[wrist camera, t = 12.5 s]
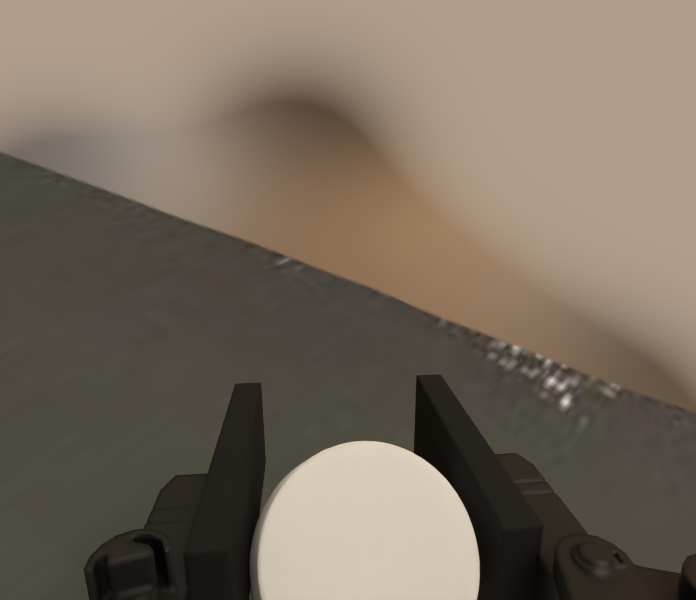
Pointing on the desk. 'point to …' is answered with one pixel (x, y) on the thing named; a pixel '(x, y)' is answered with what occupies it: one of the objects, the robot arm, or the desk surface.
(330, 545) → the pill bottle
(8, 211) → the desk surface
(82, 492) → the desk surface
